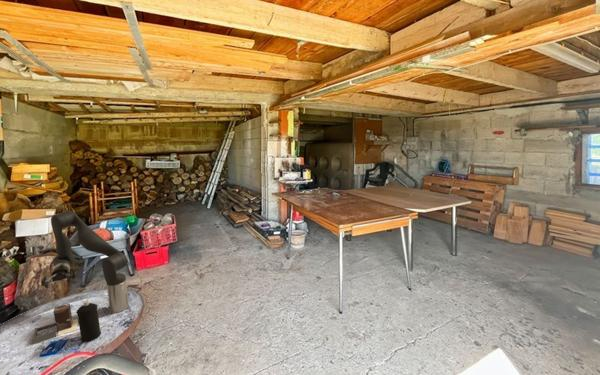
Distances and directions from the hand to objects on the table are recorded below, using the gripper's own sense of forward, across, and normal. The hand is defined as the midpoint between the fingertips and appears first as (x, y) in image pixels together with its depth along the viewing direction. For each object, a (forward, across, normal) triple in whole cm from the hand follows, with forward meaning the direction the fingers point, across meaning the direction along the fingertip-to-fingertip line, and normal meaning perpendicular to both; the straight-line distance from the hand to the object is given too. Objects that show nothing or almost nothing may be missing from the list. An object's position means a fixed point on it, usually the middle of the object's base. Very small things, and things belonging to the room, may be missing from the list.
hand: (57, 283), depth 144 cm
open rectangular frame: (+10, -6, +21) cm, 24 cm away
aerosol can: (+25, +12, +22) cm, 35 cm away
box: (+10, +1, +21) cm, 23 cm away
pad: (+10, +2, +21) cm, 23 cm away
